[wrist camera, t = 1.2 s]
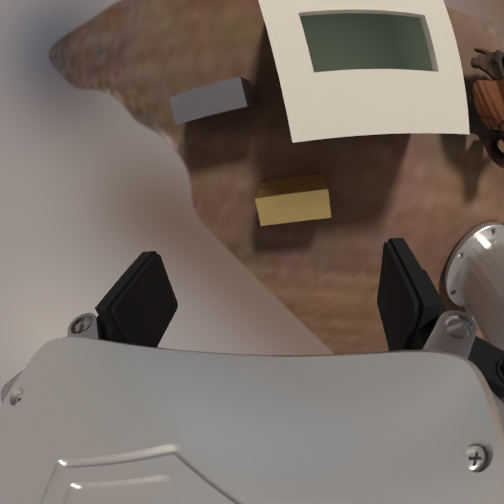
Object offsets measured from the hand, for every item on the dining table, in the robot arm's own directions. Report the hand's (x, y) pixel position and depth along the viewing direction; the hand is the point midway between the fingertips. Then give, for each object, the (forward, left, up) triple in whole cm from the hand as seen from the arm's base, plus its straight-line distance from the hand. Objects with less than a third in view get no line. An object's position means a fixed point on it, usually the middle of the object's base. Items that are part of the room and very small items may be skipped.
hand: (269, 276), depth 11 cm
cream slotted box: (+10, -7, -17) cm, 21 cm away
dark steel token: (+8, +5, -17) cm, 20 cm away
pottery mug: (+6, -22, -18) cm, 29 cm away
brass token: (-2, 0, -17) cm, 18 cm away
